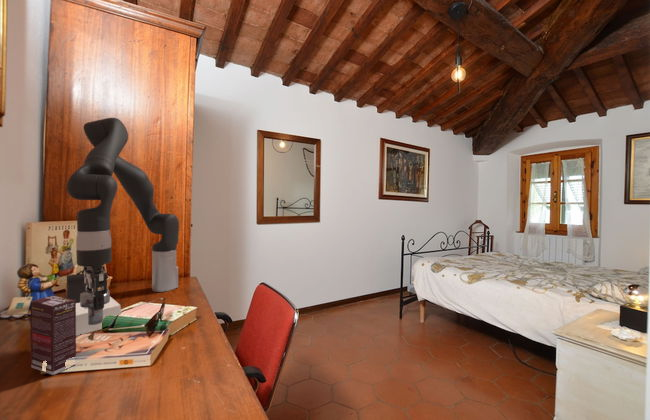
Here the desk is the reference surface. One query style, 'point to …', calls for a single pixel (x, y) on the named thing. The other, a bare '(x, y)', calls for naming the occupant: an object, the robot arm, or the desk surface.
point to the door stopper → (75, 286)
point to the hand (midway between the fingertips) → (95, 305)
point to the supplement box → (52, 333)
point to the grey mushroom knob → (87, 302)
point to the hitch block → (82, 316)
